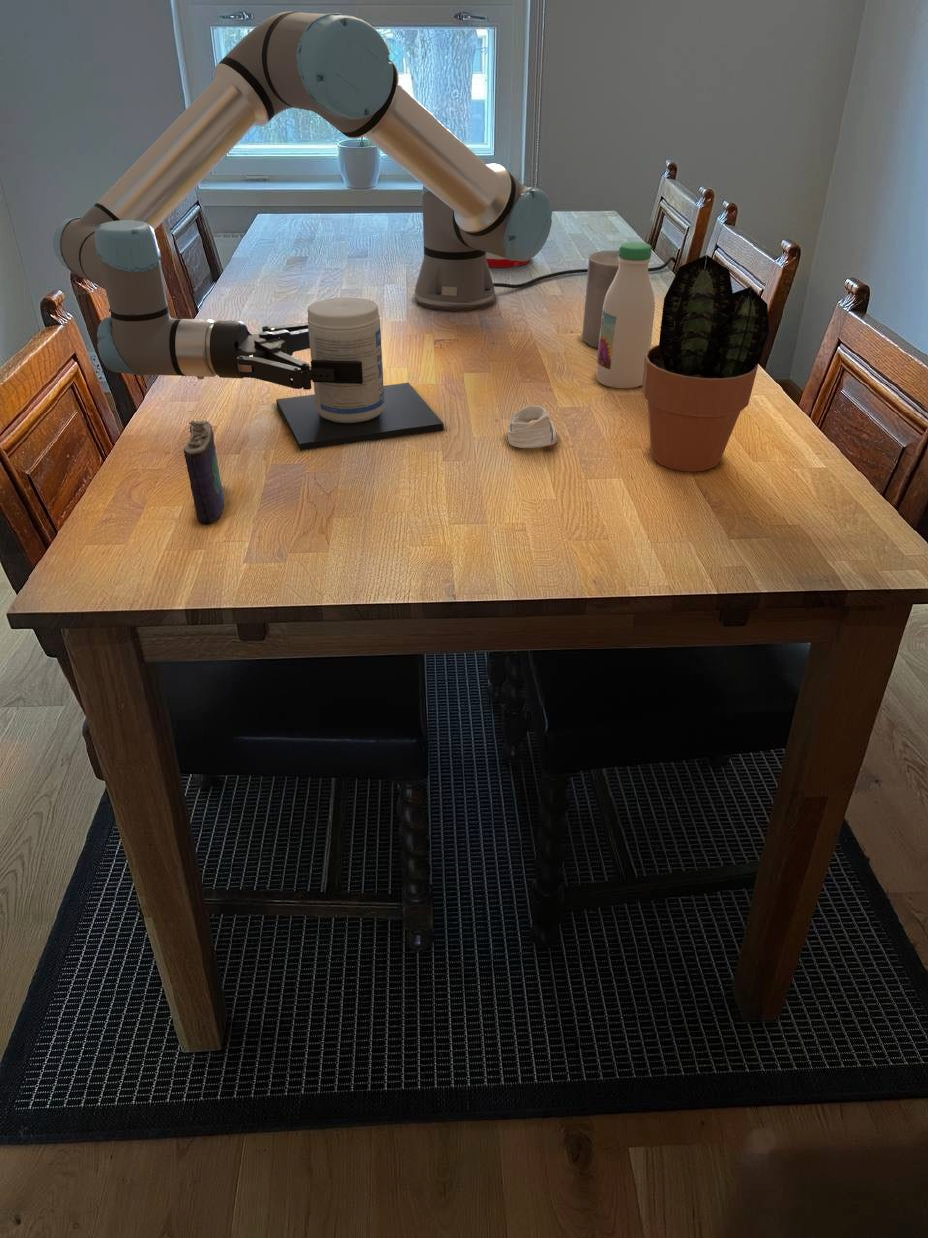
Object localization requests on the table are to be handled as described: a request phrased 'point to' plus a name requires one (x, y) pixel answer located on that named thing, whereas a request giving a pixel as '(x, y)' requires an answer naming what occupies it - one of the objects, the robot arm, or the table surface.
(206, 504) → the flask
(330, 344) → the supplement tub
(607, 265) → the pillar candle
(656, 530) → the table surface
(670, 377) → the potted plant
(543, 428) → the white wrapped ring
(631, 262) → the milk bottle
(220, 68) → the robot arm
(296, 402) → the mat
